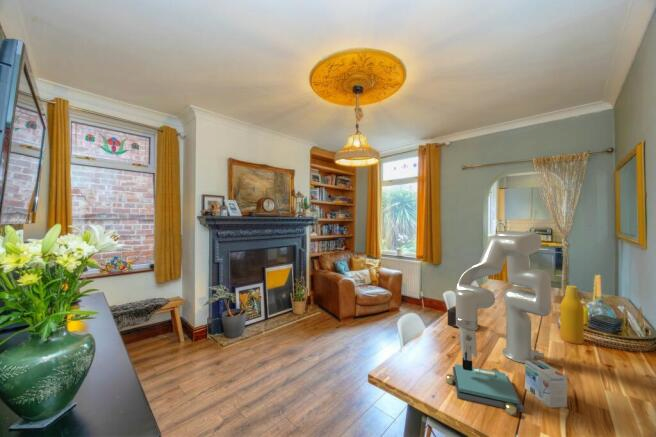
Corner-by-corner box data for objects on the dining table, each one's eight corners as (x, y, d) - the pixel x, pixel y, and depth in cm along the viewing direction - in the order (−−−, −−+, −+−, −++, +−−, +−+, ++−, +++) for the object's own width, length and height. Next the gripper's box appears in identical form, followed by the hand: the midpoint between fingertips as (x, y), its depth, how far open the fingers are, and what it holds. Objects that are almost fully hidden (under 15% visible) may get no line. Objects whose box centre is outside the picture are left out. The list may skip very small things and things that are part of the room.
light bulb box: (524, 388, 101) (524, 360, 101) (540, 387, 101) (540, 359, 101) (550, 408, 90) (550, 377, 90) (568, 407, 91) (568, 376, 91)
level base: (505, 377, 108) (505, 371, 108) (526, 419, 85) (526, 411, 85) (444, 365, 116) (444, 360, 116) (448, 401, 93) (448, 394, 93)
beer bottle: (556, 338, 142) (556, 285, 142) (564, 335, 147) (565, 283, 147) (579, 346, 134) (579, 289, 134) (586, 342, 138) (587, 287, 138)
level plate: (504, 376, 105) (504, 369, 105) (518, 404, 89) (518, 396, 89) (454, 366, 111) (454, 360, 111) (459, 391, 95) (459, 384, 95)
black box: (446, 325, 160) (446, 295, 160) (453, 320, 167) (453, 292, 167) (474, 333, 149) (474, 301, 149) (480, 328, 156) (480, 297, 156)
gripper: (481, 332, 94) (482, 382, 94) (474, 316, 108) (475, 360, 108) (458, 329, 97) (458, 378, 97) (454, 314, 111) (454, 357, 111)
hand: (467, 369), depth 102 cm, fingers closed
